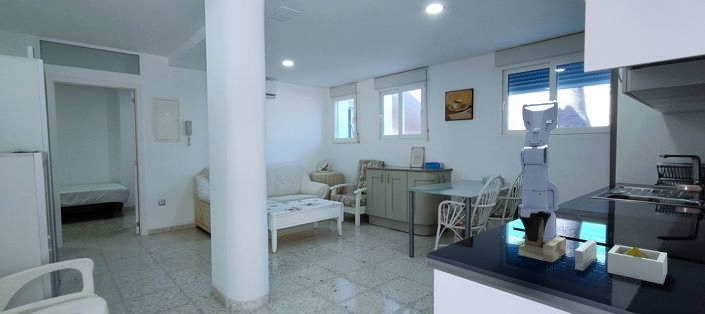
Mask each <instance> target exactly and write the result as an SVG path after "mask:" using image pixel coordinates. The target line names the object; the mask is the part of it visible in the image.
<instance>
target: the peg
mask: <svg viewBox="0 0 705 314" xmlns="http://www.w3.org/2000/svg"><path fill="white" fill-rule="evenodd" d="M543 233H544V220H542V222H541V225H540V228H539V235H538V240H537V242H533V241H528V239H527V235H526V232H525V231H524V235H525V238H524V245H529V246H534V247H539V248H543Z"/></svg>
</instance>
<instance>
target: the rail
mask: <svg viewBox="0 0 705 314" xmlns="http://www.w3.org/2000/svg"><path fill="white" fill-rule="evenodd" d="M597 252H598V251H597V240H595V239H588V240H586V241H585V242H584V243H583V244H581V245H580V246H579V247H577V248H576V249H575V250H574V265H575V266H574V270H576V271H580V272H581V271H582V272H584V271H585V270H586V269H587V268H588V267H589V266H590V265H591V264H592V263H593V262H594V261H595V260H596V259H598V258H597V254H598V253H597Z"/></svg>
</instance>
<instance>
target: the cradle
mask: <svg viewBox="0 0 705 314" xmlns="http://www.w3.org/2000/svg"><path fill="white" fill-rule="evenodd" d="M566 253H567V239H566V237H561V236H560V237H556V238H554V239H553V240H551V241H546V240H543V248H539V247H534V246H529V245H525V244H520V245H518V256H522V257H526V258H530V259H534V260H539V261H545V262H549V263H554V262H556V261H557V260H558V259H559V258H561V257H562V256H563V255H565V254H566Z"/></svg>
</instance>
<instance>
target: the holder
mask: <svg viewBox="0 0 705 314" xmlns="http://www.w3.org/2000/svg"><path fill="white" fill-rule="evenodd" d="M632 248H634V247H632V246H626V245H621V244H619V245H618V244H615V245H613V246H612V248H611V249H610V250H609V251H608V252H607V273H609V274H614V275H619V276H623V277H628V278H632V279H637V280H642V281H647V282H652V283H656V284H659V285H660V284H661V285H664V283H665V279H666V278H667V275H668V253H667V252H661V251H656V250H650V249H645V248H640V247H637V248H638V249H639V250H640V251H641V252H642V253H643V254H645V255H646V256H647V257H648V258H649V259H646V258H641V257H635V256H630V255H624V254H620V253H621V252H623V251H625V250H630V249H632Z"/></svg>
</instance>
